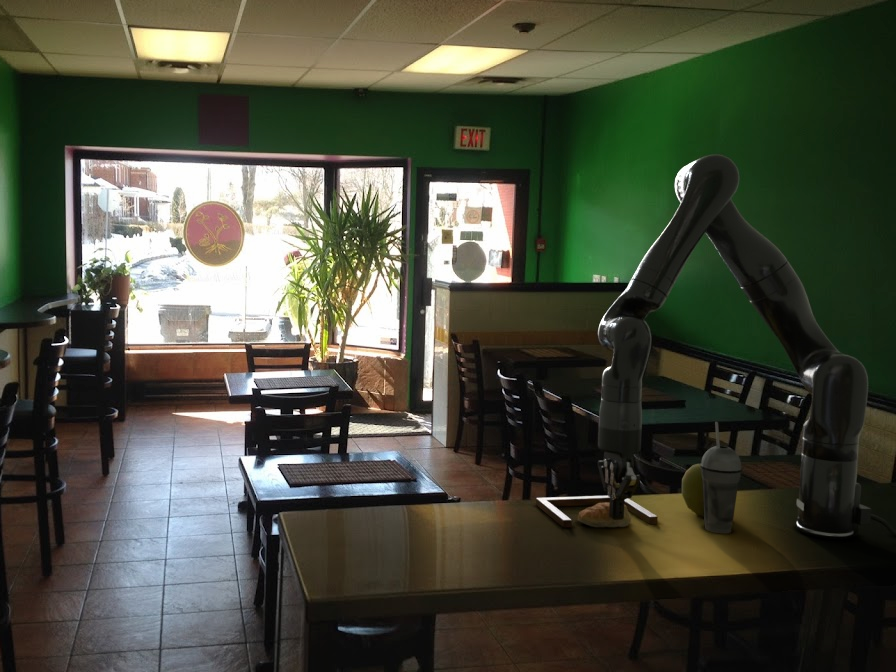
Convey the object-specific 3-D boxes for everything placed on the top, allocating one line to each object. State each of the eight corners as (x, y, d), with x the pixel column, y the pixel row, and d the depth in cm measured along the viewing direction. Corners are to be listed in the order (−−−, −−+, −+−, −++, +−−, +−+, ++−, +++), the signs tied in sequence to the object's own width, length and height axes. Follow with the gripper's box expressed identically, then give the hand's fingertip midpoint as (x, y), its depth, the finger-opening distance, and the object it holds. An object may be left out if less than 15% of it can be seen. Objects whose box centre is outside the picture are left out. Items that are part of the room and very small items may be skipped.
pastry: (589, 530, 162) (590, 510, 162) (570, 520, 168) (570, 500, 168) (633, 526, 165) (634, 506, 165) (612, 516, 172) (613, 496, 171)
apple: (735, 524, 168) (739, 467, 167) (681, 519, 170) (684, 462, 169) (731, 509, 177) (733, 455, 176) (679, 504, 180) (682, 451, 179)
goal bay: (622, 501, 181) (623, 494, 181) (657, 523, 167) (657, 516, 167) (535, 504, 178) (535, 497, 178) (563, 527, 164) (563, 520, 164)
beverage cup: (742, 537, 160) (748, 427, 159) (700, 533, 162) (705, 424, 160) (735, 525, 167) (740, 419, 166) (694, 521, 169) (699, 417, 167)
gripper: (657, 431, 156) (652, 528, 157) (622, 417, 169) (619, 507, 170) (617, 432, 154) (613, 530, 155) (585, 418, 167) (582, 509, 168)
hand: (616, 518), depth 163 cm, fingers closed
